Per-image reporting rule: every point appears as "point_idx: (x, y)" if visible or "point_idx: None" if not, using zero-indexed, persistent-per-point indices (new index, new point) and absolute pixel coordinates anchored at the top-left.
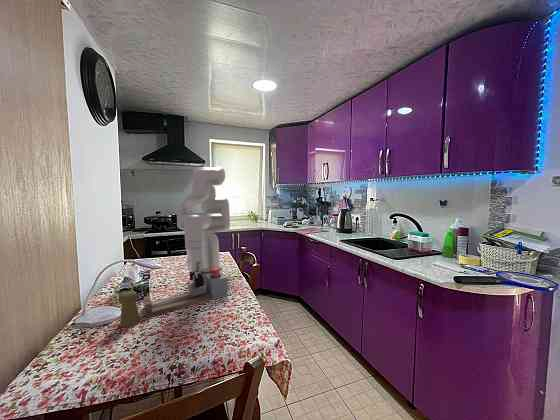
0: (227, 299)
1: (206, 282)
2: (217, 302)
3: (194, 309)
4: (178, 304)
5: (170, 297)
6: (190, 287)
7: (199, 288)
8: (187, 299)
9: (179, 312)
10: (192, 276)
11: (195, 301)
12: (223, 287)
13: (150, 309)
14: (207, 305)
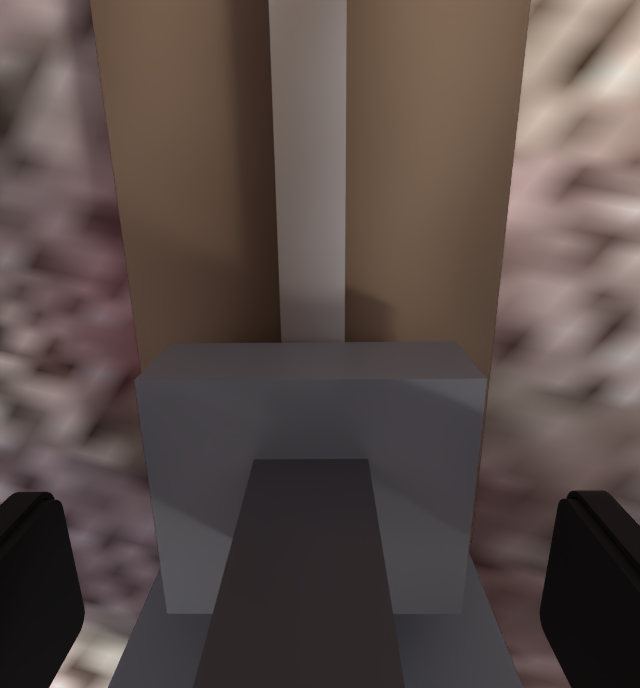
0: (92, 633)
1: (409, 656)
2: (71, 543)
3: (11, 295)
4: (122, 108)
5: (494, 30)
6: (315, 395)
7: (158, 514)
8: (233, 270)
9: (10, 103)
10: (602, 601)
11: (142, 352)
12: None
13: None
14: (48, 443)
